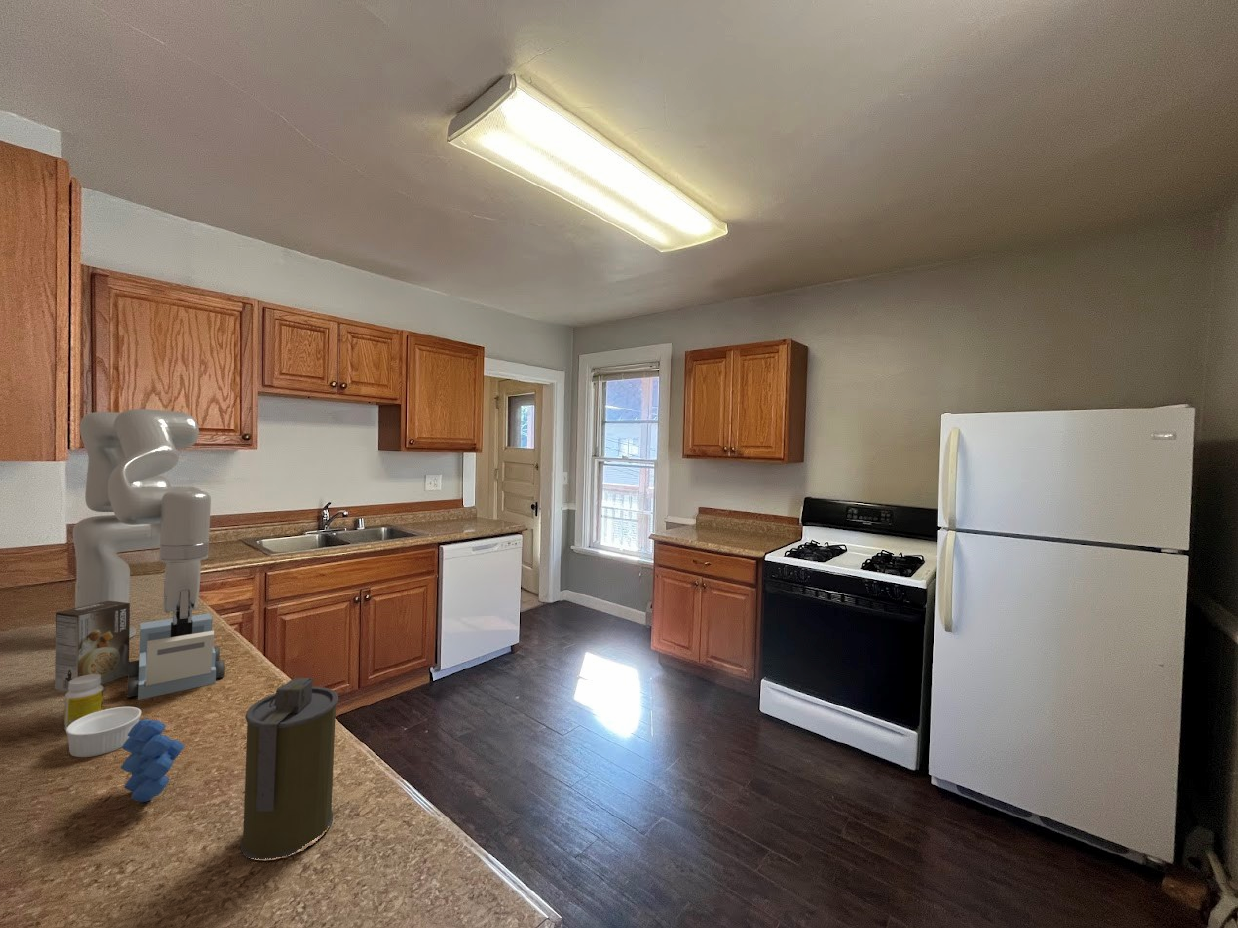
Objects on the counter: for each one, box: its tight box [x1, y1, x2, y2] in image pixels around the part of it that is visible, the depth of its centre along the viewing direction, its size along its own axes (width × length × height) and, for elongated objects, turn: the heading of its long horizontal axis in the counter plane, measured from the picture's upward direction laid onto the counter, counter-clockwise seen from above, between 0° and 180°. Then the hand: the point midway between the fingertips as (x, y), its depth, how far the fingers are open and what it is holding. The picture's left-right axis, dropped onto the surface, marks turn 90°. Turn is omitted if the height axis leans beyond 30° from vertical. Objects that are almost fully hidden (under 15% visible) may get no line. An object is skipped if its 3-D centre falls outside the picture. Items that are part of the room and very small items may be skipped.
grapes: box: [120, 718, 186, 803], centre depth 72 cm, size 12×7×12 cm, turn 59°
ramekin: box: [65, 706, 142, 758], centre depth 84 cm, size 9×9×4 cm
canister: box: [240, 677, 339, 859], centre depth 67 cm, size 11×10×20 cm
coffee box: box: [54, 601, 131, 693], centre depth 104 cm, size 9×6×16 cm
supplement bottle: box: [63, 674, 104, 731], centre depth 89 cm, size 5×5×8 cm
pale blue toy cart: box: [126, 612, 226, 701], centre depth 108 cm, size 16×15×11 cm
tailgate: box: [144, 629, 215, 687], centre depth 100 cm, size 1×10×11 cm, turn 133°
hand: (181, 641), depth 101 cm, fingers closed
